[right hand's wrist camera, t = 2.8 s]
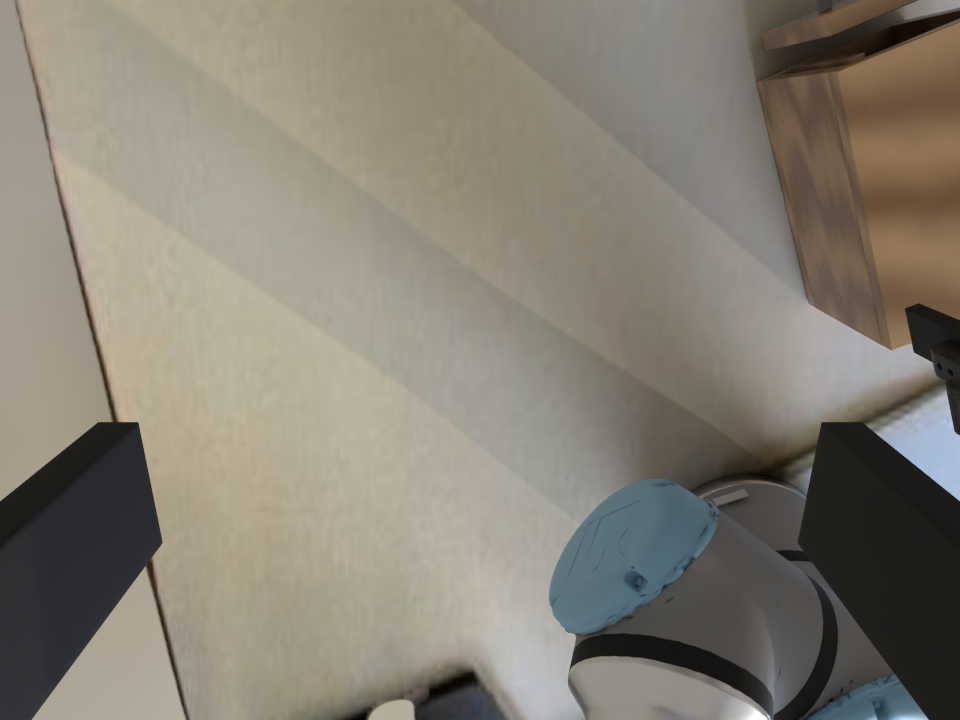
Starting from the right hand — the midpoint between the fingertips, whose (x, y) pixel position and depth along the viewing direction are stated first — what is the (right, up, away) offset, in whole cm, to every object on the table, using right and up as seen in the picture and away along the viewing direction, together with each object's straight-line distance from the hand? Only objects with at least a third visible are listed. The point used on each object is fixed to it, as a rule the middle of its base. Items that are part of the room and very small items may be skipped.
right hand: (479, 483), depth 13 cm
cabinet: (+28, +17, +37) cm, 50 cm away
